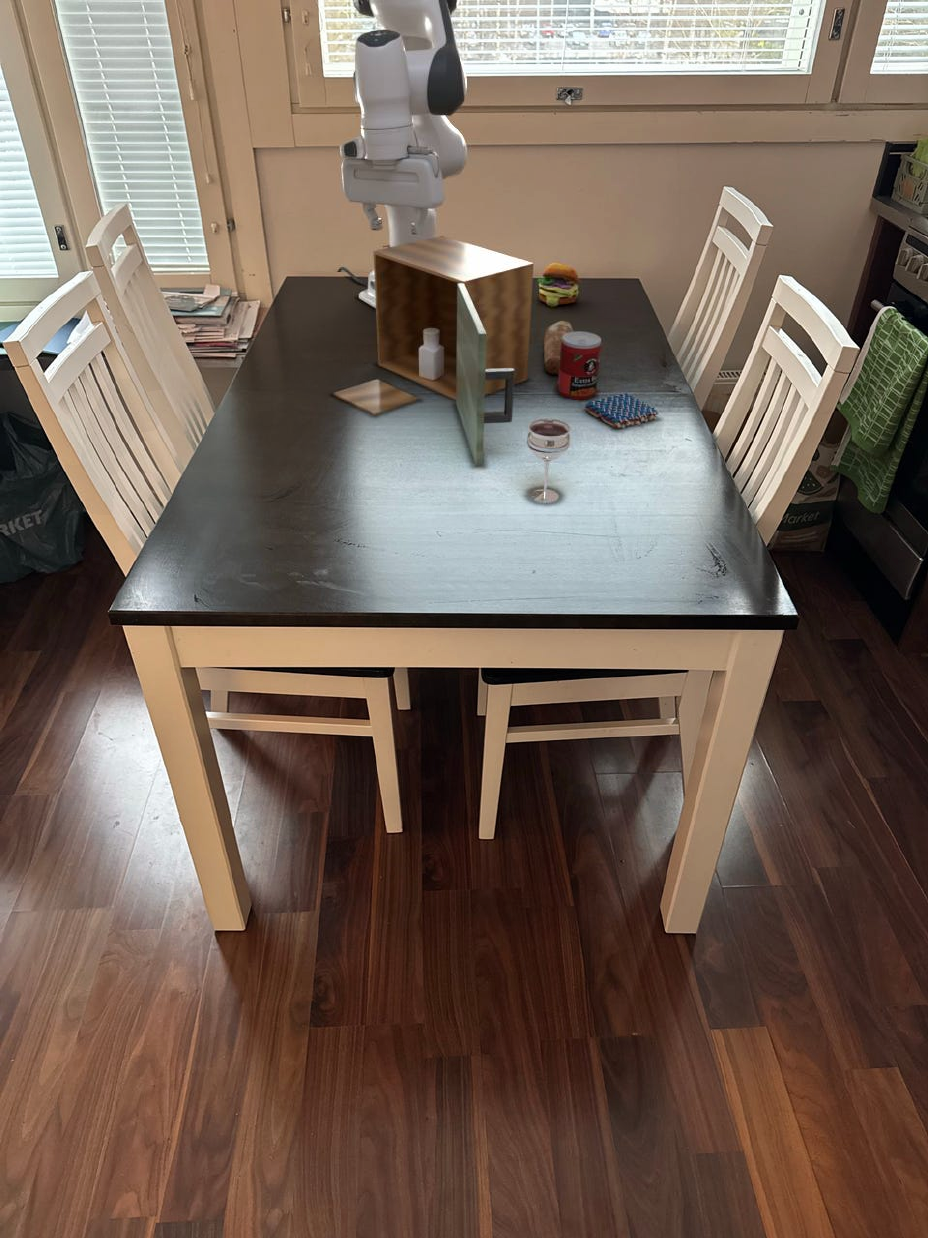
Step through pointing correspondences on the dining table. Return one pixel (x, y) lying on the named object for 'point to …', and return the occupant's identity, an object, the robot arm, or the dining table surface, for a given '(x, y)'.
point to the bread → (554, 345)
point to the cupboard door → (476, 376)
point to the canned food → (579, 365)
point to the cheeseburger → (558, 285)
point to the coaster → (375, 397)
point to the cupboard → (451, 307)
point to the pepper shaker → (431, 355)
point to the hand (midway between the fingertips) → (397, 231)
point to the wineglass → (547, 449)
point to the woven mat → (621, 410)
